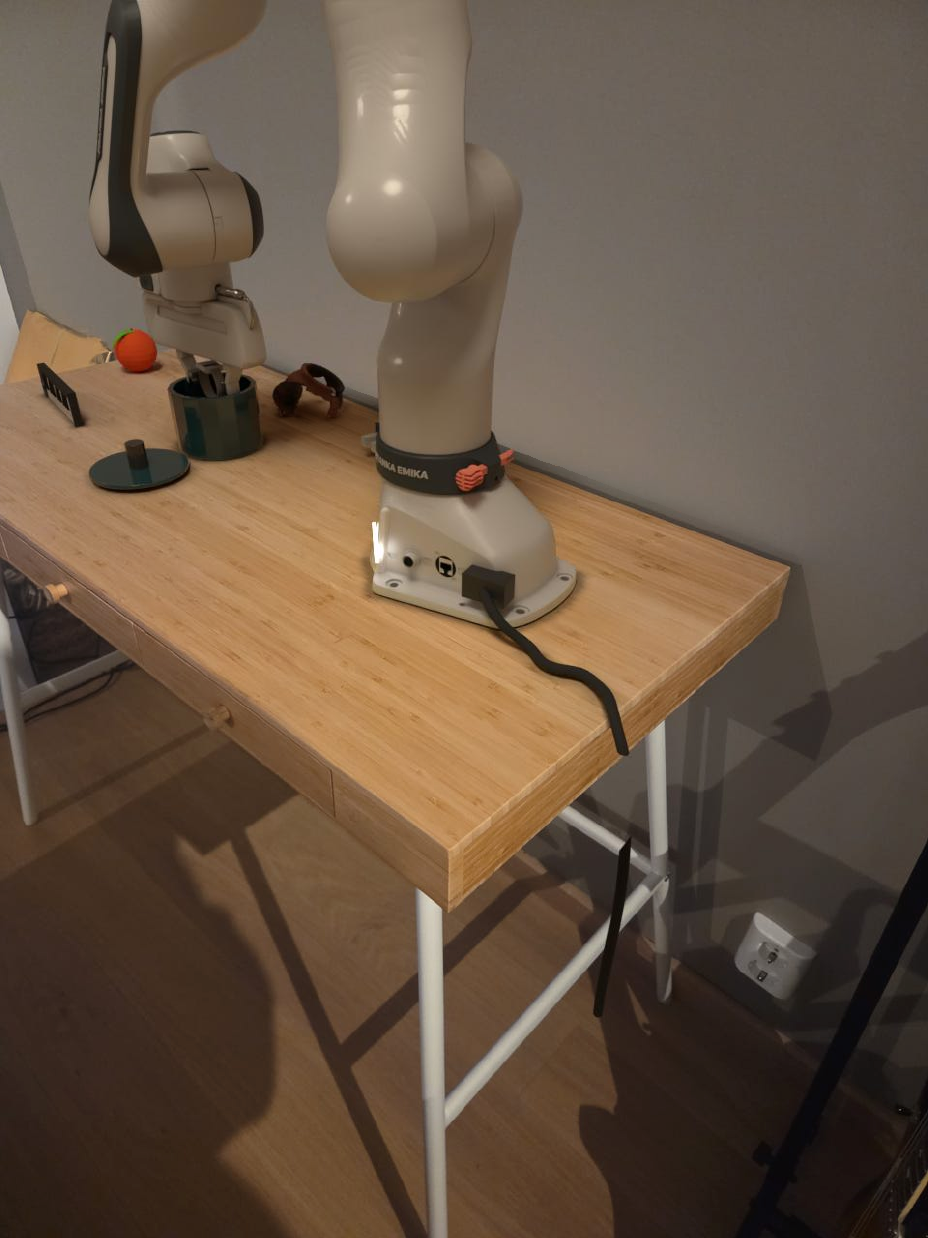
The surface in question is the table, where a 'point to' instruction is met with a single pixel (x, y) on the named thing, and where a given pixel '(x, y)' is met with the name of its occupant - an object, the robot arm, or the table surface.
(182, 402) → the tin
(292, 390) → the brown arched strap
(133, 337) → the clementine
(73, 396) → the midi keyboard
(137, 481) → the lid
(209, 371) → the wristwatch
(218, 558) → the table surface
